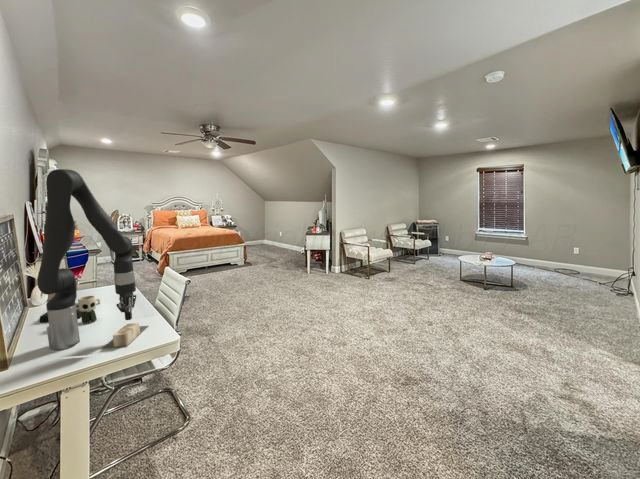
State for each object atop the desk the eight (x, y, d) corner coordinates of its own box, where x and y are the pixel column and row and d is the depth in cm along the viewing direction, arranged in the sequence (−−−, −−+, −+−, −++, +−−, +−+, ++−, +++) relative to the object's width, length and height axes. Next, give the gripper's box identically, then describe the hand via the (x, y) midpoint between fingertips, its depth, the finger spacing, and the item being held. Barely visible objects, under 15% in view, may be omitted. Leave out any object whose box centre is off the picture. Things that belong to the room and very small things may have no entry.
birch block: (128, 334, 136) (114, 346, 125) (127, 323, 136) (112, 335, 124) (140, 333, 137) (126, 345, 125) (139, 323, 136) (125, 334, 125)
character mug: (77, 327, 147) (74, 301, 145) (74, 323, 151) (71, 299, 149) (104, 320, 155) (101, 296, 153) (99, 317, 160) (97, 293, 158)
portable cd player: (56, 312, 168) (55, 305, 167) (92, 309, 173) (91, 302, 172) (39, 324, 152) (38, 316, 152) (79, 319, 157) (78, 312, 157)
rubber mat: (100, 351, 123) (100, 349, 123) (127, 328, 144) (127, 327, 144) (126, 349, 124) (126, 347, 124) (149, 327, 146) (149, 325, 146)
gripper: (123, 278, 136) (127, 314, 138) (107, 286, 123) (111, 326, 125) (141, 277, 137) (144, 313, 139) (126, 285, 124) (130, 325, 126)
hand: (128, 319), depth 132 cm, fingers closed
